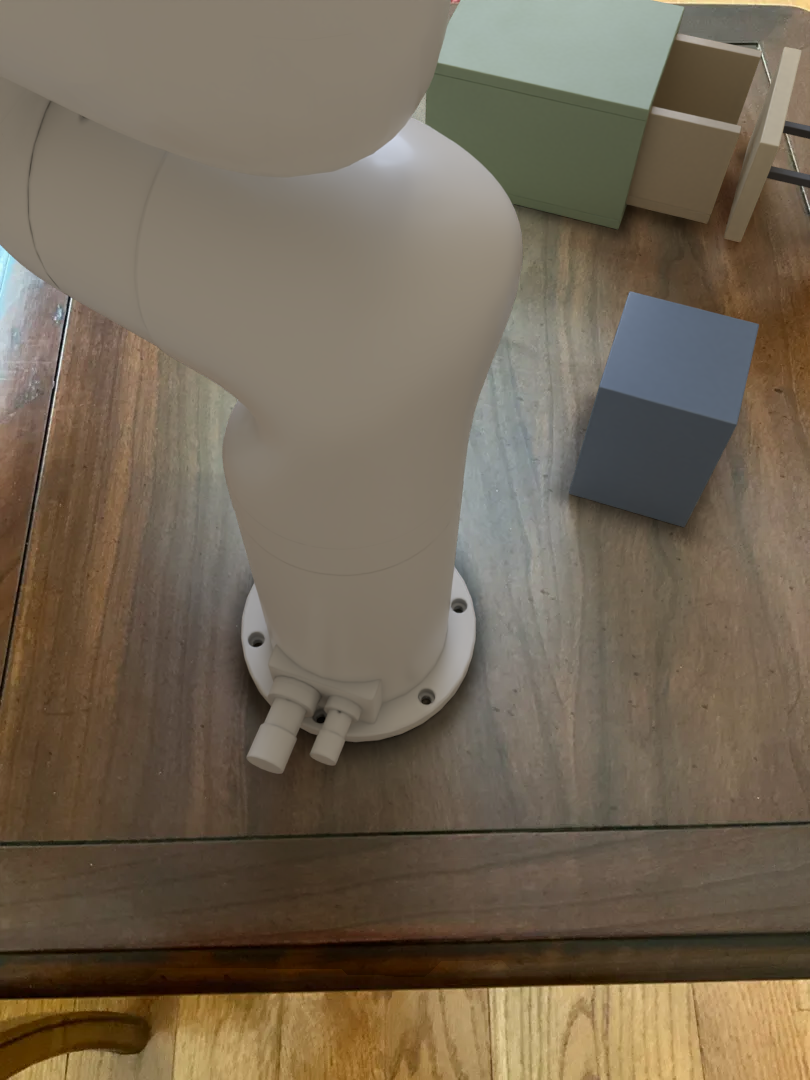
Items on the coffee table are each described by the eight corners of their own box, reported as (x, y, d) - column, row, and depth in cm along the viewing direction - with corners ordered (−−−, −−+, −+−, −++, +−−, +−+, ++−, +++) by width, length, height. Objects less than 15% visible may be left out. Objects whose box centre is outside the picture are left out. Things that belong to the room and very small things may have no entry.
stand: (684, 527, 56) (737, 425, 48) (567, 493, 57) (598, 387, 49) (706, 435, 59) (759, 323, 51) (595, 405, 61) (629, 290, 52)
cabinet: (652, 128, 74) (685, 6, 65) (618, 230, 68) (649, 110, 60) (470, 87, 76) (479, -36, 68) (423, 182, 71) (426, 60, 62)
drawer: (844, 166, 70) (892, 68, 64) (827, 264, 66) (876, 168, 59) (586, 108, 74) (605, 8, 67) (550, 196, 69) (567, 99, 62)
